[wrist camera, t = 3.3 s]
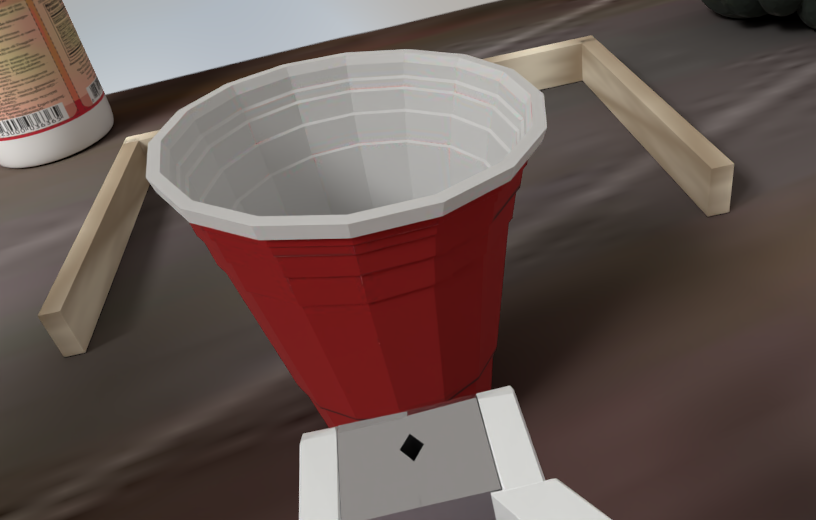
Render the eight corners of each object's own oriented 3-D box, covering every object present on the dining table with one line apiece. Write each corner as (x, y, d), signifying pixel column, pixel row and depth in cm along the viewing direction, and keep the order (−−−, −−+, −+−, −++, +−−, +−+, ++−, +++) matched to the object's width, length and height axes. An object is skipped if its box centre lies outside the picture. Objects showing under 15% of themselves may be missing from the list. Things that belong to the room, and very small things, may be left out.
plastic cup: (610, 507, 21) (604, 155, 14) (260, 569, 21) (88, 257, 15) (530, 289, 30) (503, 7, 23) (284, 335, 30) (184, 72, 23)
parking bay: (64, 357, 32) (37, 316, 30) (141, 170, 47) (126, 137, 46) (729, 212, 32) (734, 163, 30) (592, 71, 47) (591, 35, 45)
